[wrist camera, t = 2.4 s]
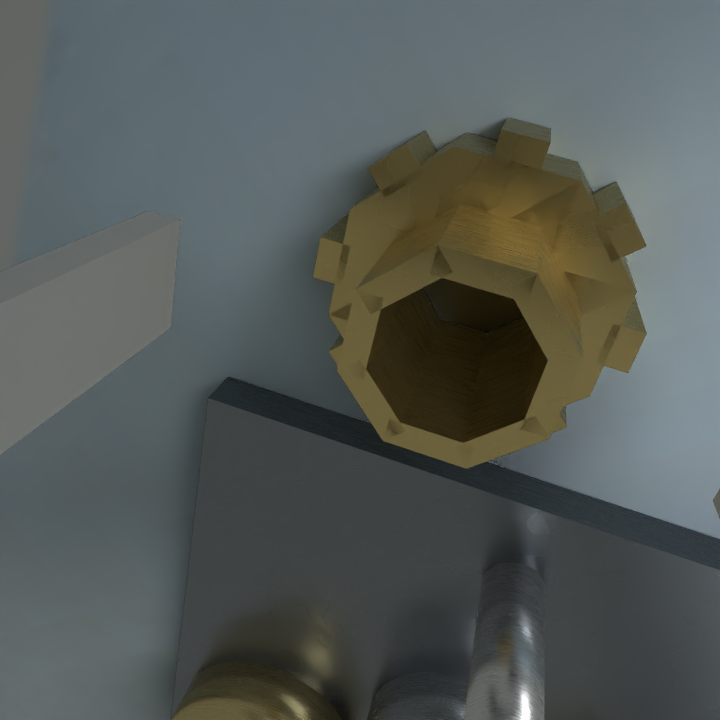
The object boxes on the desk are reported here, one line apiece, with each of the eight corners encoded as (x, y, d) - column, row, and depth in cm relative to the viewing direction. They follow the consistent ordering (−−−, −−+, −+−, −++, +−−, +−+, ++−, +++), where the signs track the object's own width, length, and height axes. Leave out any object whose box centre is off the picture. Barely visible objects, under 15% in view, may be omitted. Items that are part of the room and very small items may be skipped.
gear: (374, 82, 17) (295, 101, 12) (694, 165, 16) (763, 227, 11) (318, 354, 21) (241, 458, 16) (572, 435, 20) (579, 576, 15)
